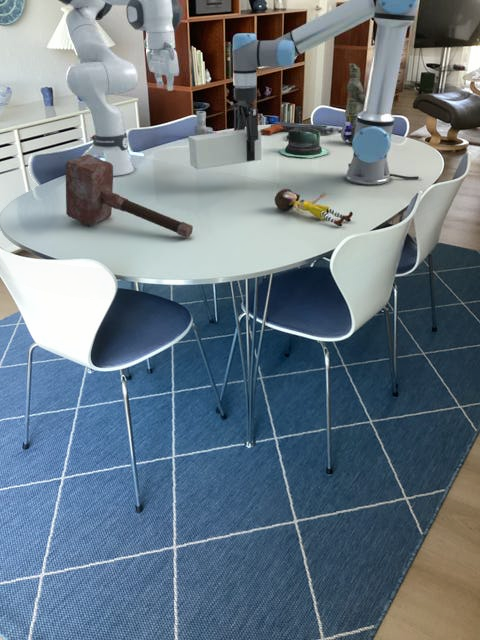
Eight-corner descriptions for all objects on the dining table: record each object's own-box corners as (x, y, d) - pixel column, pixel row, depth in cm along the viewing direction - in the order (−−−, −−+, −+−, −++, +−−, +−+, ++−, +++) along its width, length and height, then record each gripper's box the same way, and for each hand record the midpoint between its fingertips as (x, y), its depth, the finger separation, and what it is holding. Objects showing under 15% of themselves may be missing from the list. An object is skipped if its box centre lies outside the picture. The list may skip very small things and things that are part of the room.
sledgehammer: (202, 197, 152) (86, 152, 164) (183, 208, 145) (63, 160, 156) (194, 252, 162) (86, 206, 174) (176, 265, 155) (64, 216, 166)
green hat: (332, 145, 241) (326, 158, 224) (294, 164, 249) (286, 177, 233) (317, 113, 235) (310, 124, 219) (279, 133, 244) (269, 145, 228)
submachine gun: (253, 131, 261) (276, 121, 280) (253, 137, 263) (276, 126, 281) (316, 137, 247) (336, 126, 266) (315, 143, 249) (335, 132, 267)
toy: (345, 120, 249) (377, 123, 242) (343, 139, 253) (375, 143, 246) (337, 123, 243) (369, 127, 236) (336, 143, 247) (367, 147, 240)
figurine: (337, 215, 154) (266, 188, 166) (332, 239, 158) (263, 212, 171) (360, 203, 163) (291, 178, 175) (355, 226, 167) (288, 200, 179)
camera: (202, 109, 261) (225, 113, 253) (203, 135, 267) (226, 140, 259) (189, 112, 256) (212, 116, 247) (190, 138, 262) (213, 143, 253)
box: (197, 169, 183) (195, 139, 178) (190, 165, 188) (188, 136, 183) (261, 160, 192) (261, 131, 187) (253, 156, 197) (252, 128, 192)
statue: (367, 132, 266) (374, 63, 251) (349, 133, 264) (355, 64, 249) (357, 127, 275) (362, 61, 260) (339, 129, 273) (344, 62, 258)
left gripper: (181, 43, 170) (185, 91, 177) (160, 40, 186) (164, 85, 193) (162, 44, 168) (166, 93, 174) (142, 41, 184) (146, 86, 190)
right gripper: (269, 89, 175) (269, 162, 186) (242, 82, 190) (243, 151, 201) (248, 91, 172) (249, 166, 184) (222, 84, 187) (224, 153, 199)
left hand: (165, 88), depth 184 cm, fingers open, 8 cm apart
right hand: (246, 158), depth 192 cm, fingers closed on box, 6 cm apart
